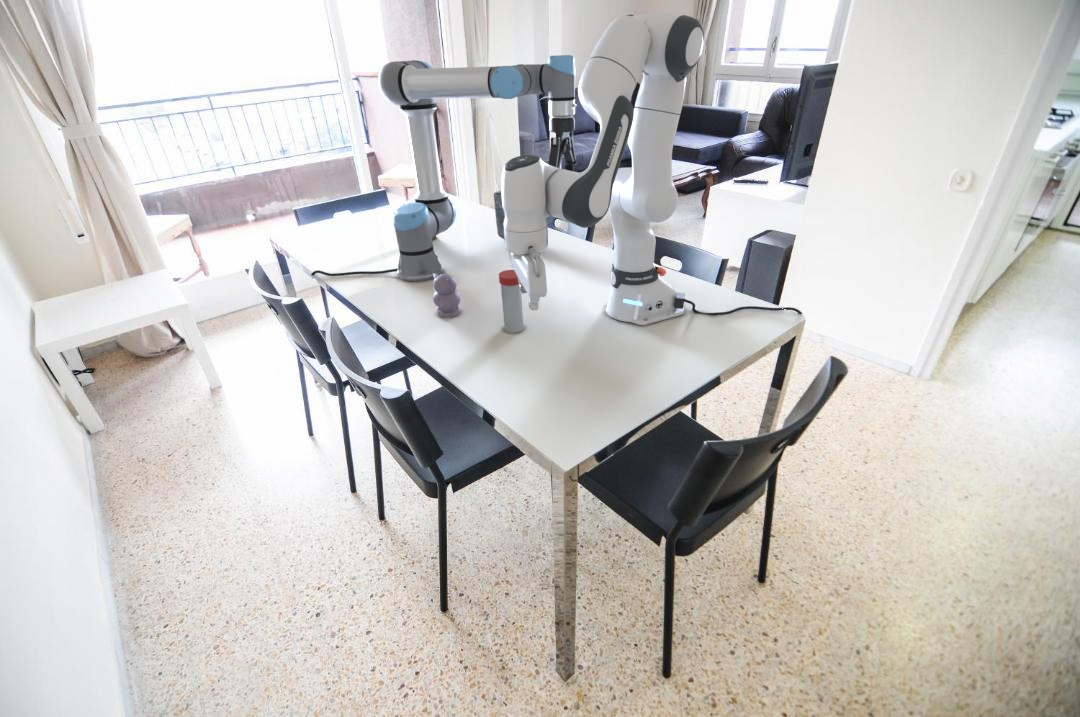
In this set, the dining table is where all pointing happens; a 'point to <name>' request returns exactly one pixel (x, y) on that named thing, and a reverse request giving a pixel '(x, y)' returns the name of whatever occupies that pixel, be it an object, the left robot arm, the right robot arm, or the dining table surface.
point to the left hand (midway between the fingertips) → (562, 191)
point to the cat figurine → (446, 295)
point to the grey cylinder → (512, 308)
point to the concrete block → (503, 215)
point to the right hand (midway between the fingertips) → (528, 300)
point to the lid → (508, 278)
